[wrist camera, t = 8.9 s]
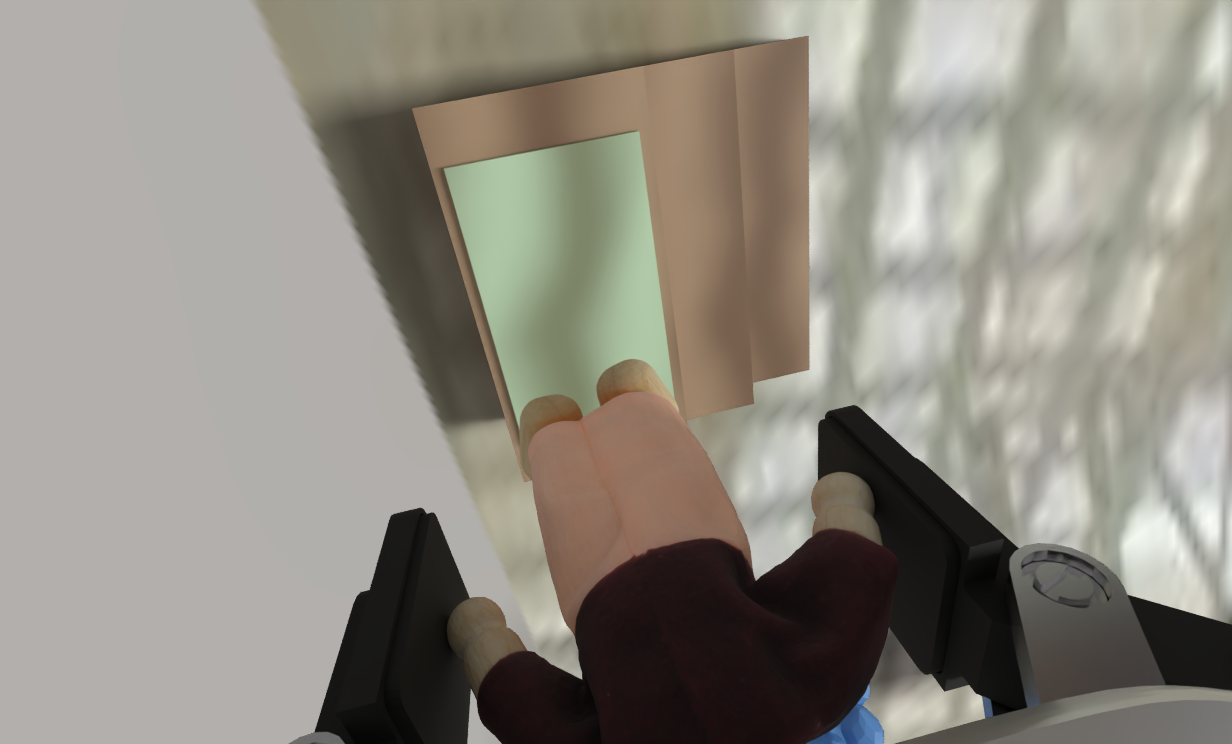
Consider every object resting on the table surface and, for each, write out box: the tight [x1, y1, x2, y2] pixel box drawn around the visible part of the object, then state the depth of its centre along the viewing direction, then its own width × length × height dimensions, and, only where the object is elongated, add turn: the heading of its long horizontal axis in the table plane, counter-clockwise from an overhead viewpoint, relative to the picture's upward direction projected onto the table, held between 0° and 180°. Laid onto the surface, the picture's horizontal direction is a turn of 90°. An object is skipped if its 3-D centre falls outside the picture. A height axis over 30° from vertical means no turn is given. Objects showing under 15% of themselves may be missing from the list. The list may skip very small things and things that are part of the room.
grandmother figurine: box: [447, 359, 899, 744], centre depth 9 cm, size 8×4×13 cm, turn 120°
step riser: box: [412, 36, 809, 482], centre depth 26 cm, size 16×16×6 cm
